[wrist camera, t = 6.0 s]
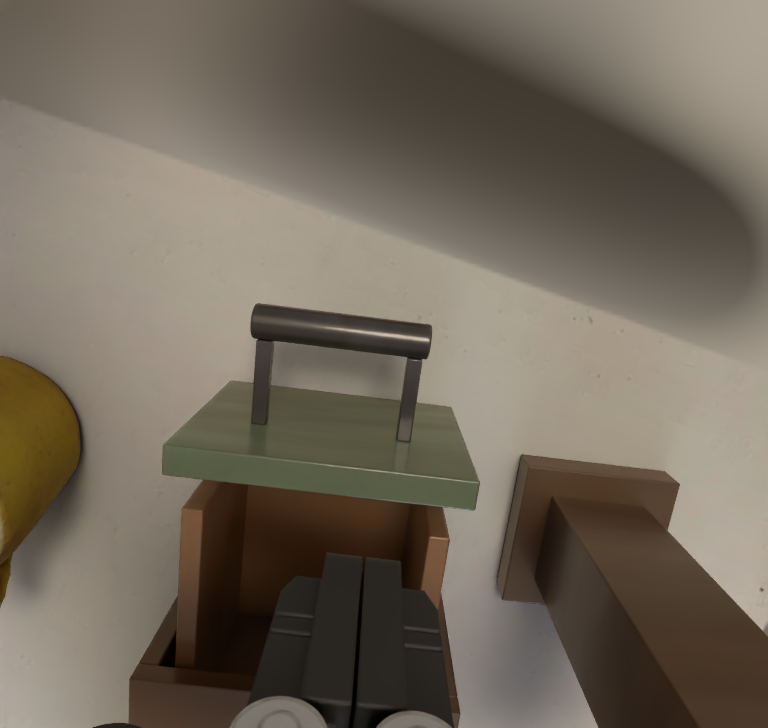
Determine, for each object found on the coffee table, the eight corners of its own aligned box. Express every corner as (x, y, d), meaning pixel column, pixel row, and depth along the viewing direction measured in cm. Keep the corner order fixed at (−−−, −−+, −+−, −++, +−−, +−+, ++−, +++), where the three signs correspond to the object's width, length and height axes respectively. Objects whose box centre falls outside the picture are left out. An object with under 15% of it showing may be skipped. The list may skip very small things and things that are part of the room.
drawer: (236, 283, 27) (166, 307, 18) (466, 312, 27) (504, 348, 19) (216, 608, 31) (151, 751, 22) (416, 630, 31) (427, 779, 23)
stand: (521, 453, 30) (868, 1016, 8) (665, 470, 30) (1364, 1062, 9) (496, 582, 32) (728, 1314, 10) (632, 598, 32) (1139, 1345, 10)
